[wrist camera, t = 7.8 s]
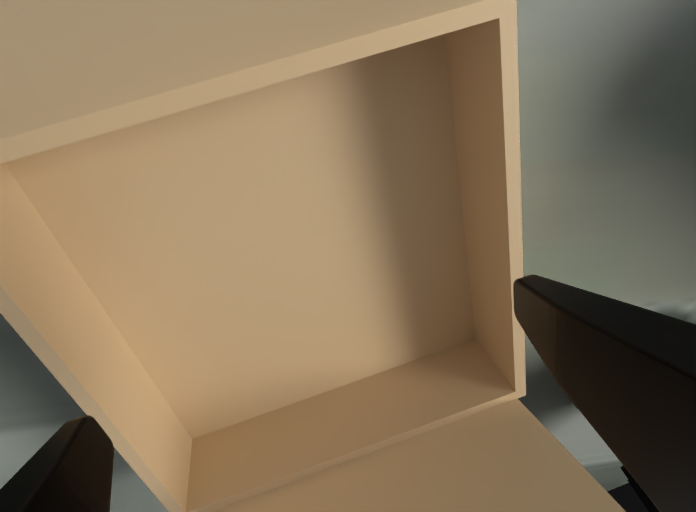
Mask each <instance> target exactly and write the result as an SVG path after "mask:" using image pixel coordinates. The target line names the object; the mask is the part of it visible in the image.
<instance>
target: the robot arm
mask: <svg viewBox="0 0 696 512" xmlns="http://www.w3.org/2000/svg"><path fill="white" fill-rule="evenodd" d="M513 298H514V313H515V316H516V319H517V321H518V322H519V324H520V325H521V327H522V329H523V330H524V332H525V333H526V335H527V336H528V338H529V340H530V341H531V343H532V344H533V346H534V348H535V349H536V351H537V352H538V354H539V355H540V357H541V359H542V360H543V362H544V363H545V365H546V366H547V368H548V370H549V371H550V373H551V374H552V376H553V377H554V378H555V380H556V381H557V382H558V384H559V385H560V386H561V388H562V389H563V390H564V391H565V393H566V394H567V395H568V396H569V398H570V399H571V400H572V401H573V404H574V405H575V406H576V408H578V409H579V410H580V411H581V413H582V414H583V415H584V416H585V418H586V419H587V420H588V421H589V423H590V424H591V425H592V426H593V428H594V429H595V430H596V431H597V433H598V434H599V435H600V437H601V438H602V439H603V440H604V442H605V443H606V444H607V445H608V447H609V448H610V449H611V450H612V452H613V453H614V454H615V455H616V457H617V458H618V459H619V460H620V462H621V463H622V464H623V466H622V467H621V469H622V471H623V472H624V474H625V475H626V476H627V478H628V482H629V483H630V485H631V486H632V488H633V489H634V491H635V492H636V494H637V495H638V497H639V498H640V499H641V501H642V502H643V504H644V505H645V507H646V508H647V510H648V511H649V512H696V324H693V323H690V322H686V321H683V320H680V319H677V318H674V317H670V316H667V315H664V314H661V313H657V312H654V311H651V310H648V309H644V308H641V307H638V306H635V305H631V304H628V303H625V302H622V301H618V300H615V299H612V298H609V297H605V296H602V295H599V294H596V293H592V292H589V291H586V290H583V289H580V288H576V287H573V286H570V285H567V284H563V283H560V282H557V281H554V280H550V279H547V278H544V277H541V276H537V275H528V276H525V277H522V278H518V279H516V280H515V281H514V284H513ZM113 458H114V447H113V443H112V441H111V439H110V437H109V436H108V435H107V434H106V432H105V431H104V430H103V428H102V427H101V426H100V425H99V423H98V422H97V421H96V419H95V418H94V417H92V416H90V415H85V416H82V417H79V418H76V419H72V420H70V421H68V422H66V423H65V424H64V425H63V426H62V427H61V428H60V429H59V430H58V431H57V432H56V433H55V434H54V435H53V436H52V437H51V438H50V439H49V440H48V441H47V442H46V443H45V444H44V445H43V446H42V447H41V448H40V449H39V450H38V451H37V453H36V454H35V455H34V456H33V457H32V458H31V459H30V460H29V461H28V462H27V463H26V464H25V465H24V466H23V467H22V468H21V469H20V470H19V471H18V472H17V473H16V474H15V475H14V476H13V477H12V478H11V479H10V480H9V481H8V482H7V483H6V484H5V485H4V486H3V487H2V488H1V489H0V512H110V499H111V485H112V472H113Z"/></svg>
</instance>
